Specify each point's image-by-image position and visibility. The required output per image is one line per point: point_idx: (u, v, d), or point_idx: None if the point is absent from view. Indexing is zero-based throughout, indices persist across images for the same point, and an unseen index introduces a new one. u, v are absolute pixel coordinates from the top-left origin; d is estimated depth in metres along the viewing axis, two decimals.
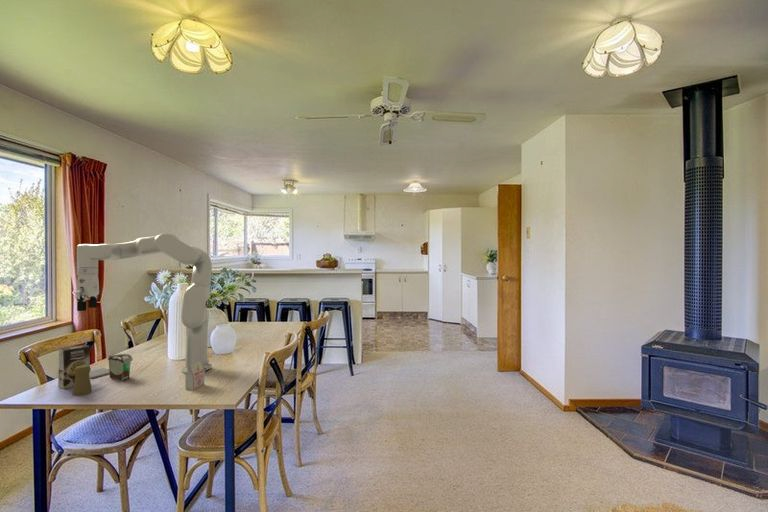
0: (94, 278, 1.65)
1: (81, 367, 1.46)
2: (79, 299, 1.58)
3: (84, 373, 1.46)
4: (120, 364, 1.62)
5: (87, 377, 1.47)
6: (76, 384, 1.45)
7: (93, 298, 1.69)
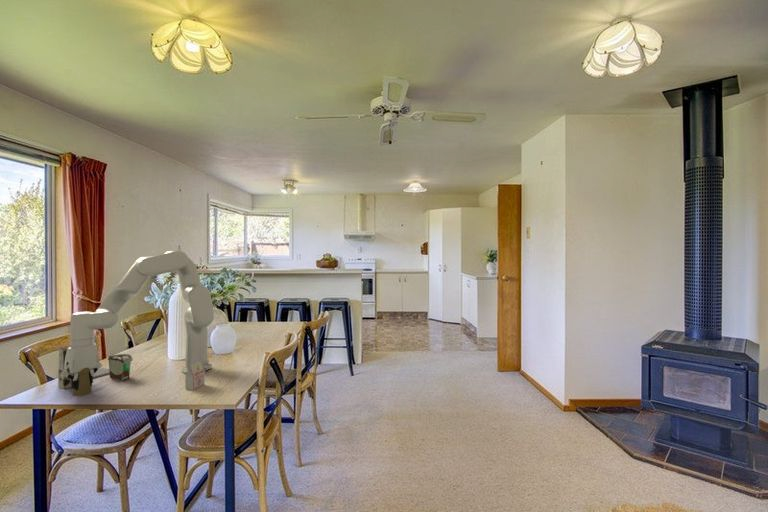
0: None
1: None
2: None
3: (84, 373, 1.46)
4: (120, 364, 1.62)
5: (87, 377, 1.47)
6: None
7: None
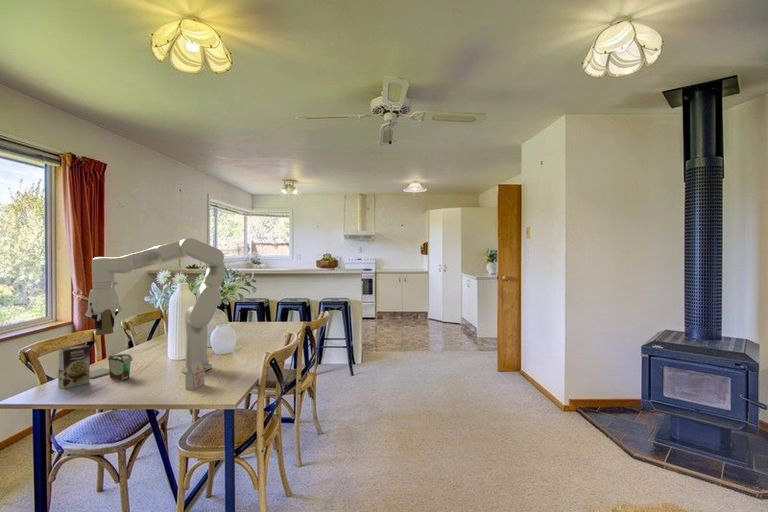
0: None
1: None
2: None
3: (106, 314, 1.55)
4: (120, 364, 1.62)
5: (109, 318, 1.56)
6: None
7: None
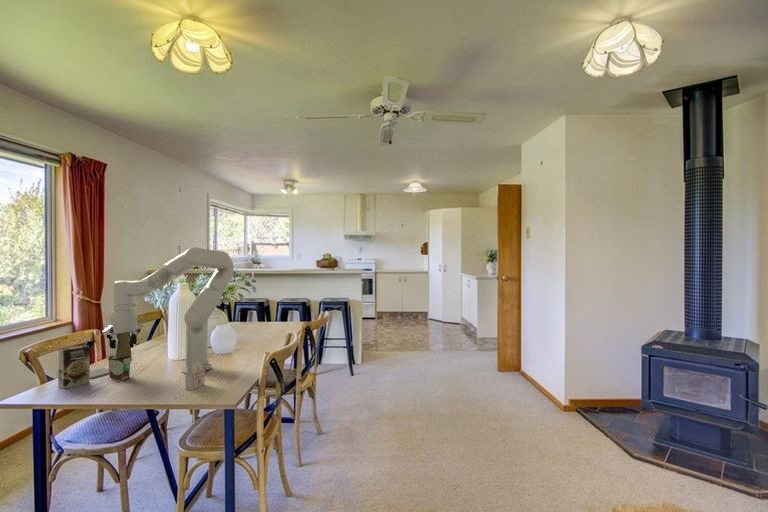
0: None
1: None
2: None
3: (125, 338, 1.64)
4: (119, 364, 1.61)
5: (128, 342, 1.65)
6: (118, 347, 1.63)
7: None
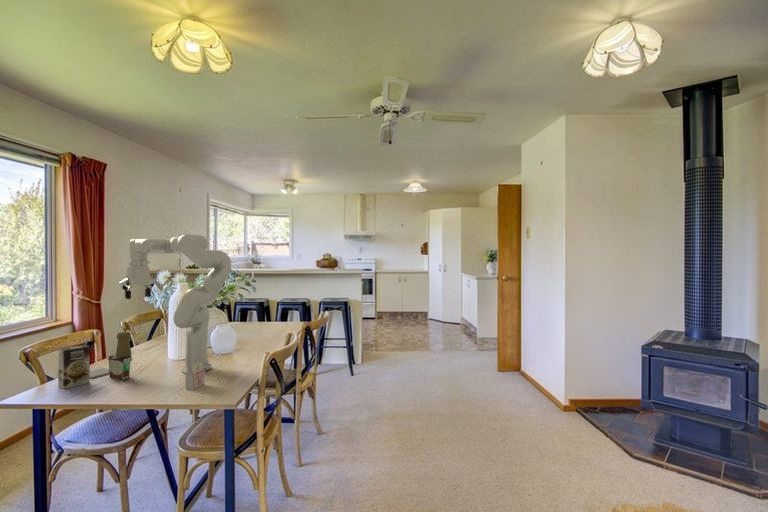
0: None
1: (123, 332, 1.64)
2: None
3: (125, 338, 1.64)
4: (119, 364, 1.61)
5: (128, 342, 1.65)
6: (118, 347, 1.63)
7: None
